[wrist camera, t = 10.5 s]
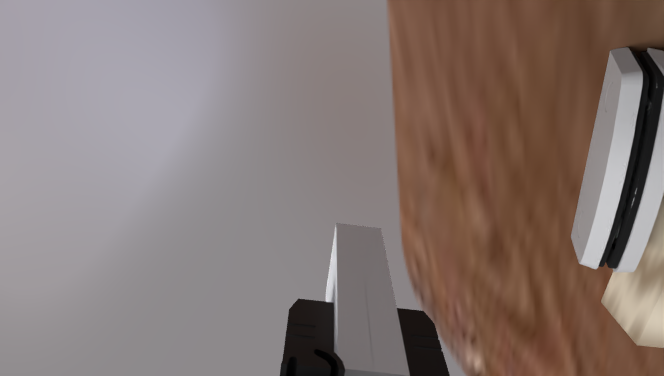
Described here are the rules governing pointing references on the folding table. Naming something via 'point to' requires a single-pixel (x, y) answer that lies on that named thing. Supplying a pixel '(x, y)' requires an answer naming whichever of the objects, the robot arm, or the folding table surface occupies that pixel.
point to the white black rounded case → (623, 164)
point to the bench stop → (641, 292)
